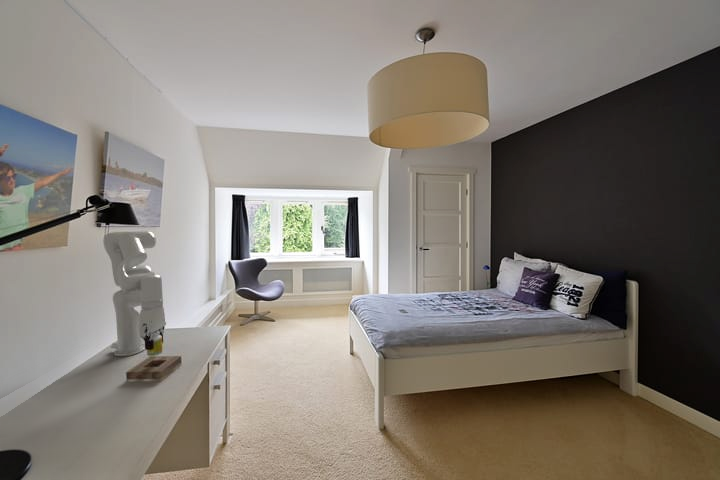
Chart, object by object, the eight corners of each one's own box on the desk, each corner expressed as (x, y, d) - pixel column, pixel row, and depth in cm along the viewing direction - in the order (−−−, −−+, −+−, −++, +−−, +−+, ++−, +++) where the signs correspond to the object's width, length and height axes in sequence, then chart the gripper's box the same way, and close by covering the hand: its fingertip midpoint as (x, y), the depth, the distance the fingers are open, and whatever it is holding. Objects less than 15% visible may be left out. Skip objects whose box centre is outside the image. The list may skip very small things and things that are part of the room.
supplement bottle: (154, 357, 123) (153, 334, 123) (143, 356, 125) (142, 333, 124) (165, 351, 129) (164, 329, 128) (155, 350, 130) (154, 328, 129)
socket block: (126, 381, 120) (126, 372, 120) (150, 365, 134) (149, 356, 134) (161, 381, 120) (161, 371, 120) (181, 364, 134) (181, 356, 134)
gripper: (156, 299, 134) (158, 338, 135) (127, 310, 117) (130, 355, 118) (173, 299, 134) (175, 338, 135) (147, 310, 117) (149, 354, 118)
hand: (154, 345), depth 126 cm, fingers closed on supplement bottle, 5 cm apart
